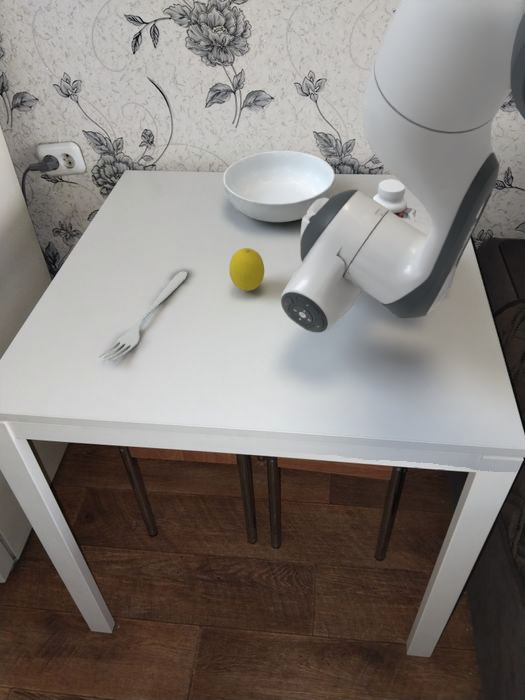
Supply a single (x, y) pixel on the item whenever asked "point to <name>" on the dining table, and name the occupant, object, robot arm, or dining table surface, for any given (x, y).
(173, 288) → the fork
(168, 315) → the dining table surface
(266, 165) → the serving bowl
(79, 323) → the dining table surface
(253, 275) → the lemon
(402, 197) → the pill bottle
